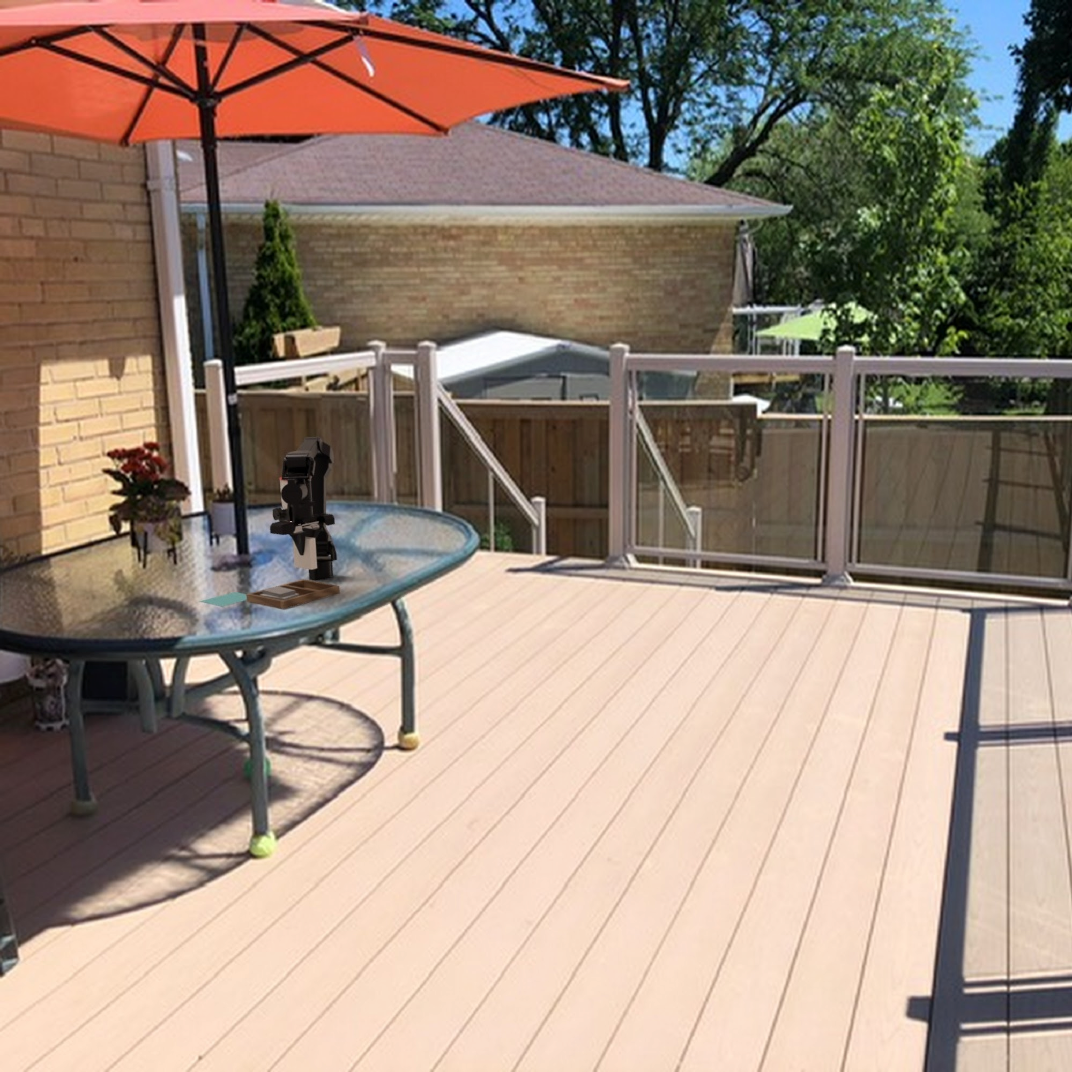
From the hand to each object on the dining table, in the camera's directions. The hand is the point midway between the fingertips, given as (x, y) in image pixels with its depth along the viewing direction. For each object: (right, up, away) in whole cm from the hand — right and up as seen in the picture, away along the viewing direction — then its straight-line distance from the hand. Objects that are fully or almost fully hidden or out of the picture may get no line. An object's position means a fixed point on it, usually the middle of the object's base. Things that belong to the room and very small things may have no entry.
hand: (305, 554), depth 305 cm
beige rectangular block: (0, -4, +1) cm, 4 cm away
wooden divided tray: (-3, -13, -1) cm, 13 cm away
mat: (-20, -13, -2) cm, 24 cm away
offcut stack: (-6, -13, -5) cm, 15 cm away
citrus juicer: (-25, +11, +119) cm, 122 cm away
